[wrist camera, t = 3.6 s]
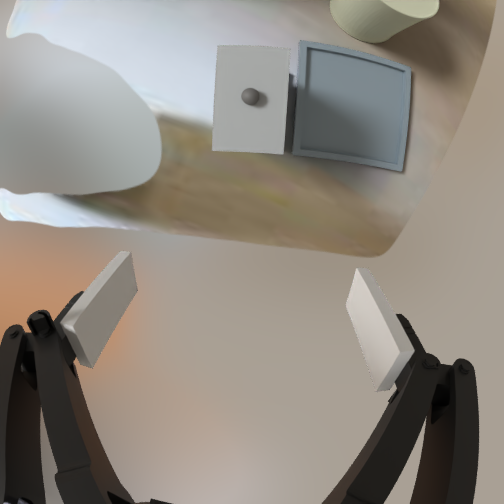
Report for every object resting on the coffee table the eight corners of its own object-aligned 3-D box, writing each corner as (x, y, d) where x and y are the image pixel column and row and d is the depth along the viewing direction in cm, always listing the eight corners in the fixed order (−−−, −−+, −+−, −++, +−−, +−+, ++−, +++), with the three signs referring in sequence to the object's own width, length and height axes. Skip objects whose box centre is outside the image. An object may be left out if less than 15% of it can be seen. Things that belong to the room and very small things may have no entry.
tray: (298, 42, 25) (300, 40, 23) (406, 68, 24) (411, 67, 23) (291, 153, 31) (292, 155, 30) (397, 169, 31) (401, 171, 30)
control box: (227, 69, 27) (202, 31, 13) (287, 72, 26) (306, 36, 13) (223, 147, 31) (196, 165, 18) (281, 150, 31) (297, 170, 18)
